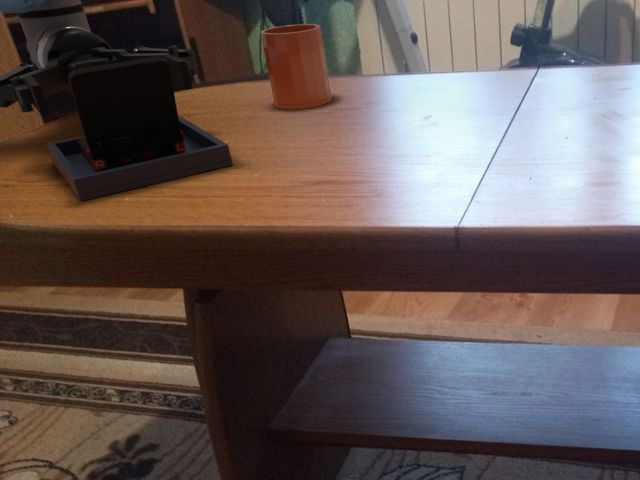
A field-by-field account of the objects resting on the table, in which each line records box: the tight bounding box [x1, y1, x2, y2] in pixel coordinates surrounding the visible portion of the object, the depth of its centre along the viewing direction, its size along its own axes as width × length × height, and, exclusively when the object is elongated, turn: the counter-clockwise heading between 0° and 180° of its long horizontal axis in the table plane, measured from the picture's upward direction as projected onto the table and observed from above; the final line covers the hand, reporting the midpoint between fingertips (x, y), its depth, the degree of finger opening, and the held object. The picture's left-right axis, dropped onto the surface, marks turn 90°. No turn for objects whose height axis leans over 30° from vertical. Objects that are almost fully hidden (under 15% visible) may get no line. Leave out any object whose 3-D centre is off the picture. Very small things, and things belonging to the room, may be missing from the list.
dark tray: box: [45, 116, 233, 202], centre depth 77 cm, size 17×15×2 cm
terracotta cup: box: [260, 23, 333, 110], centre depth 94 cm, size 7×7×9 cm
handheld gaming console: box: [68, 56, 186, 170], centre depth 75 cm, size 9×12×10 cm
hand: (116, 87), depth 72 cm, fingers open, 13 cm apart
